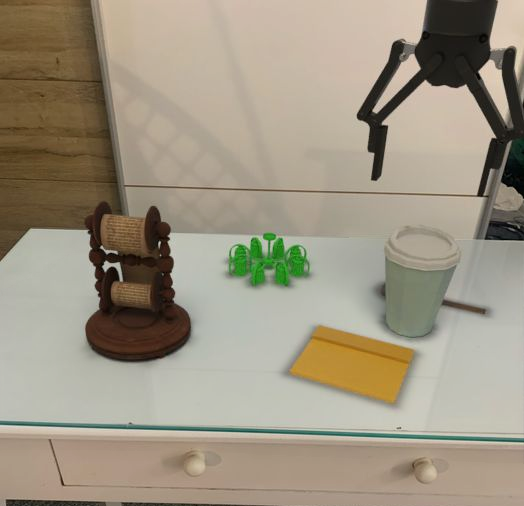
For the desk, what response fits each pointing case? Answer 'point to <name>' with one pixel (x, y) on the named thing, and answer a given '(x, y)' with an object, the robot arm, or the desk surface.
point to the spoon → (447, 303)
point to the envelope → (354, 363)
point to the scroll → (134, 287)
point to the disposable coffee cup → (417, 277)
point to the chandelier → (268, 260)
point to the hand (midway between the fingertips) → (426, 185)
